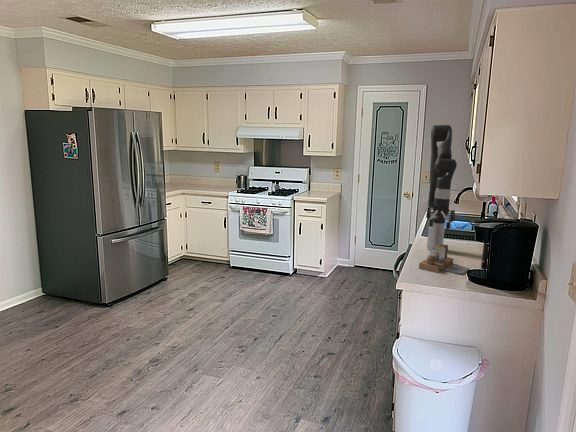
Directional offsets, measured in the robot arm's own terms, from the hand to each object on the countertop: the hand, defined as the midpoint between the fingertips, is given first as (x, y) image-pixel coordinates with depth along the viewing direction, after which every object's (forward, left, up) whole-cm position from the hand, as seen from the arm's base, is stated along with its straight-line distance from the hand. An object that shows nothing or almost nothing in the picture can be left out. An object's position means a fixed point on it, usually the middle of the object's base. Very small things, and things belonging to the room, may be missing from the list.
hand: (439, 228), depth 225 cm
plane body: (0, 0, -21) cm, 21 cm away
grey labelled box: (0, 0, -17) cm, 17 cm away
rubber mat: (0, +11, -21) cm, 24 cm away
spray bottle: (-13, +24, -21) cm, 35 cm away
